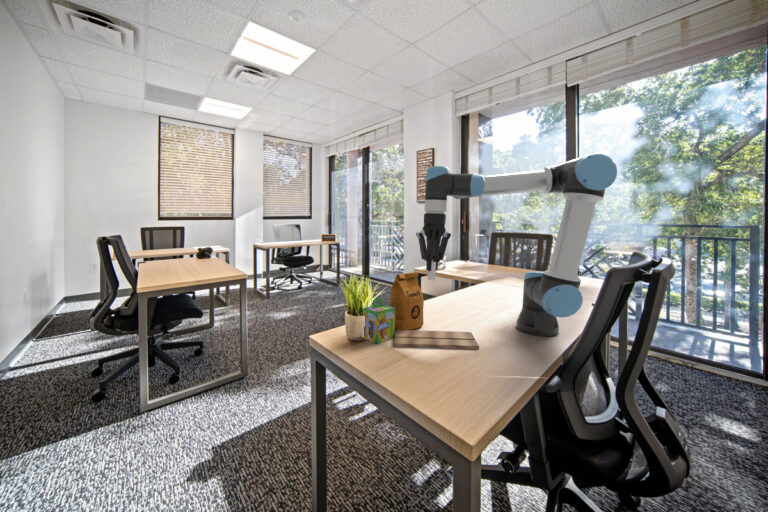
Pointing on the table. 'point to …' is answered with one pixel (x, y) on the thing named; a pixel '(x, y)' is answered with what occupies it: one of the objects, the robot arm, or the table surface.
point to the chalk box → (379, 322)
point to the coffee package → (407, 302)
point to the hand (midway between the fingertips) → (431, 279)
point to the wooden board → (436, 343)
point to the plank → (434, 334)
